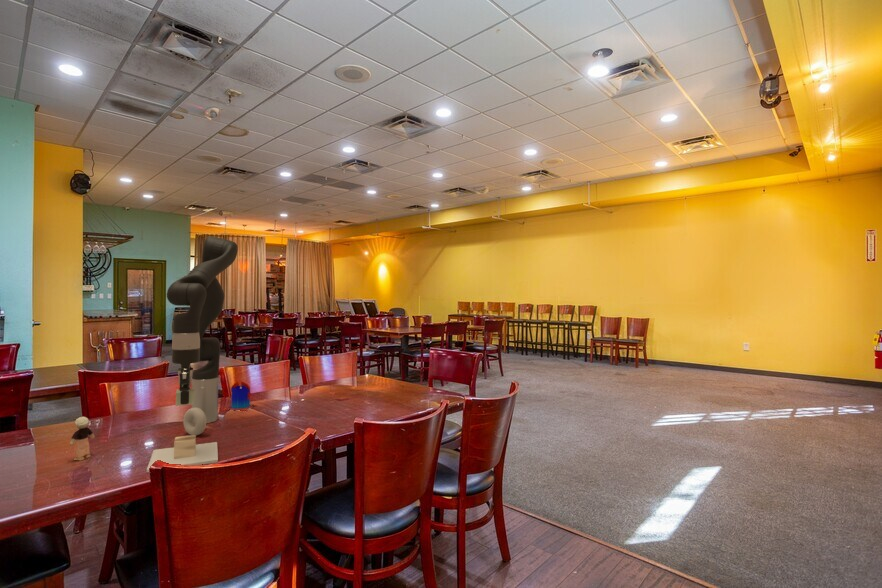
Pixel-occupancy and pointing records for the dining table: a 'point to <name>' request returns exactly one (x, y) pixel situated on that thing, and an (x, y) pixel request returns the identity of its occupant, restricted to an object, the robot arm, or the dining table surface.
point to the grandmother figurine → (81, 439)
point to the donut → (189, 421)
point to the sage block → (191, 397)
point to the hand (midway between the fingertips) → (185, 401)
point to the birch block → (184, 446)
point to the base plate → (202, 456)
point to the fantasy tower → (240, 397)
